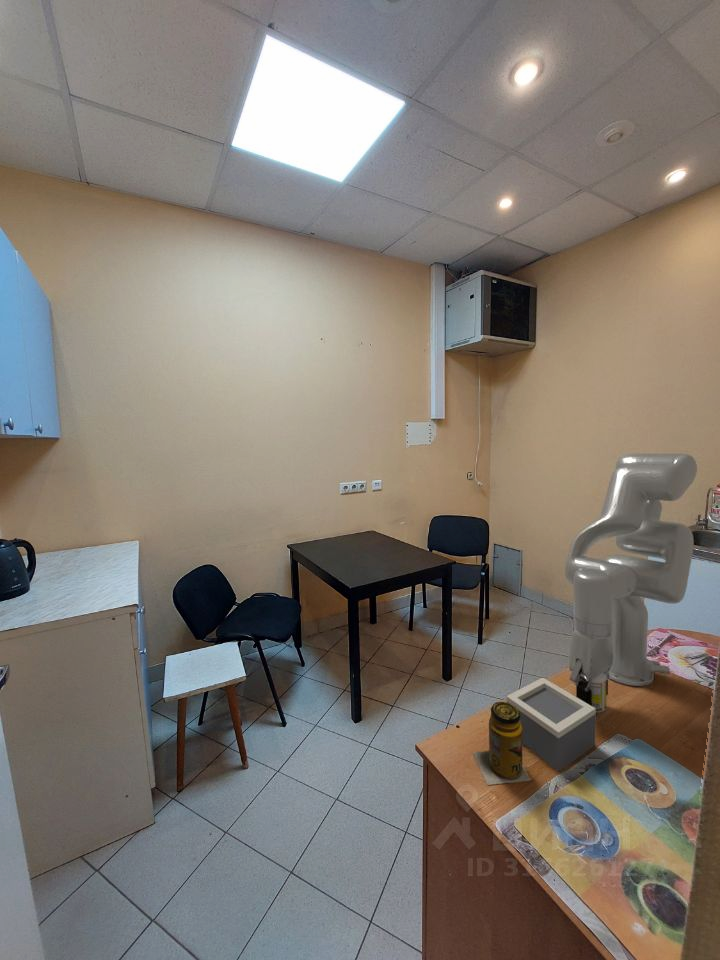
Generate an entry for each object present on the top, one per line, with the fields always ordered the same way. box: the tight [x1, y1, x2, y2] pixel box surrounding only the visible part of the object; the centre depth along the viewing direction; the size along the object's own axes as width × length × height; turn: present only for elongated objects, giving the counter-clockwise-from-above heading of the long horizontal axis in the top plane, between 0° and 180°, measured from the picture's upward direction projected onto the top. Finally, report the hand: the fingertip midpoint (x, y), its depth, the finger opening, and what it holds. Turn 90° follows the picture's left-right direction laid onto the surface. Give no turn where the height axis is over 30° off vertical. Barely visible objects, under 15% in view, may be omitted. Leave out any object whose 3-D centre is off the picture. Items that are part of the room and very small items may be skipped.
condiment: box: [472, 701, 532, 786], centre depth 73 cm, size 7×8×12 cm
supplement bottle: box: [581, 671, 608, 713], centre depth 87 cm, size 6×6×10 cm
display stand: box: [506, 677, 597, 773], centre depth 80 cm, size 12×12×8 cm
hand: (592, 697), depth 88 cm, fingers closed on supplement bottle, 5 cm apart
